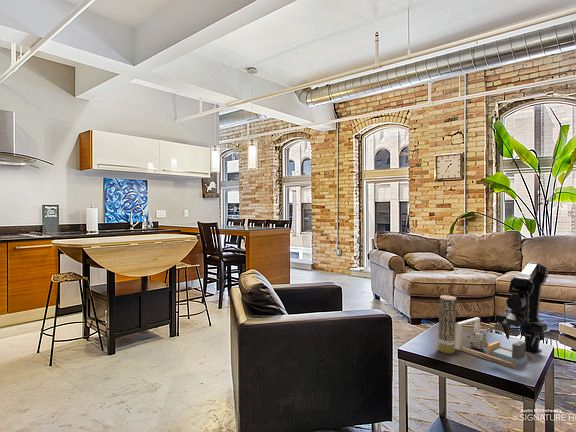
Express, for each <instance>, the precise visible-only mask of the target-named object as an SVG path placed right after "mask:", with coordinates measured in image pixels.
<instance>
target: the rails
mask: <svg viewBox="0 0 576 432" xmlns="http://www.w3.org/2000/svg"><path fill="white" fill-rule="evenodd" d="M487 343H488V344H492V343H493V342H492V343H491V342H489V341H487ZM500 348H501V349H504V350H508V351H511V352H512V349H511V348H508V347H505V346H501V345H500ZM460 351H462V352H464V353H467V354H469V355H472V356H476V357H478V358H482V359H485V360H488V361H491V362H493V361H494V363H495V364H499V365H501V366H505V367H508V368H510V369H511V368H512V369H516V368H517V367H516V366H517V365H516V364H514V363H511V362H508V361H505V360H502V359H499V358H496V357H493V356H490V355H487V353H484V352H481V351H479V350H478V351H477V350H475V349H472V348H470V347H469V348H468V347H466V346H462V345H461V350H460ZM525 356H527V360H528V361H529V360H530V361H532V360H533V358H534V356H533V354H532V355H531V354H528V353H525Z"/></svg>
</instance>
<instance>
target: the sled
mask: <svg viewBox="0 0 576 432" xmlns="http://www.w3.org/2000/svg"><path fill="white" fill-rule="evenodd" d="M511 345H512V352H511V351H508V350H504V349H501V348H500V346H501V341H499V340H498V341H495V342H492V344H489V345H487V346H486V354H487V355H490V356H493V357H496V358H499V359H502V360H505V361H508V362H511V363H514V364H516V366H522V365H524V364H526V363H528V359H527V356H525V354H526V343H525V341H521V340H519V341H517V342H514V343H512V344H511Z"/></svg>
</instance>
